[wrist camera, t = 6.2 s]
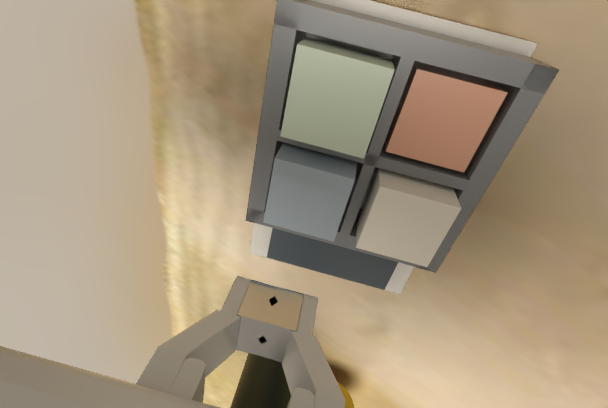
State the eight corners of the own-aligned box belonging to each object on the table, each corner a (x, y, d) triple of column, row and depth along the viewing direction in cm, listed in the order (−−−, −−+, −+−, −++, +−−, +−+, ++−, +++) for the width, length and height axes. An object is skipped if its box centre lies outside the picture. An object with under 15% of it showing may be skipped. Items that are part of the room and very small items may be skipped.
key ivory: (379, 166, 18) (379, 186, 16) (452, 185, 18) (461, 208, 16) (356, 224, 20) (355, 247, 18) (422, 241, 20) (427, 267, 18)
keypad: (296, -20, 17) (277, -21, 14) (529, 41, 17) (570, 54, 13) (252, 244, 27) (235, 282, 24) (398, 284, 27) (402, 329, 23)
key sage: (305, 37, 15) (297, 44, 13) (391, 59, 15) (394, 69, 13) (289, 120, 18) (280, 136, 16) (364, 140, 17) (364, 158, 16)
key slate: (284, 140, 18) (274, 157, 16) (356, 160, 18) (355, 179, 16) (272, 201, 20) (263, 222, 19) (337, 218, 20) (333, 241, 18)
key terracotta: (412, 59, 16) (417, 69, 15) (492, 80, 16) (508, 92, 15) (384, 135, 19) (385, 151, 17) (455, 154, 19) (464, 172, 17)
